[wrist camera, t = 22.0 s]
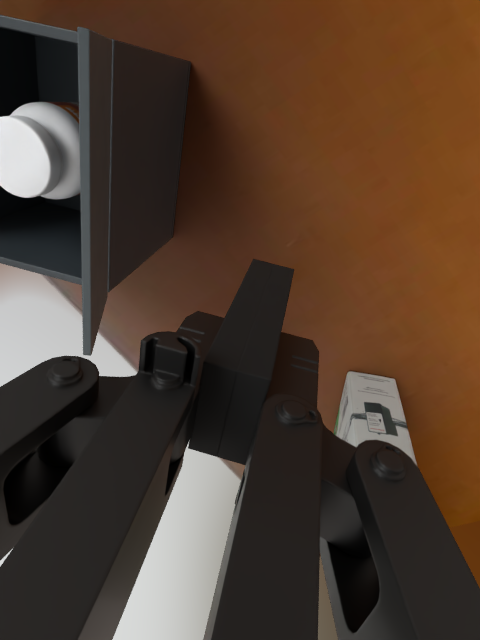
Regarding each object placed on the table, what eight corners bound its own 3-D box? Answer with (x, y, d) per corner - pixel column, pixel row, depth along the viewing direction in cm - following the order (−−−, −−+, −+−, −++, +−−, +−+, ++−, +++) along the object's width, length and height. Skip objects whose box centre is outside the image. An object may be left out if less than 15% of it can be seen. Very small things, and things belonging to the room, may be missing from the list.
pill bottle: (146, 120, 32) (69, 127, 23) (131, 192, 35) (57, 225, 26) (75, 89, 32) (-32, 83, 23) (66, 164, 35) (-32, 187, 26)
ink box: (377, 439, 44) (392, 542, 34) (332, 431, 44) (333, 529, 34) (398, 376, 39) (422, 472, 29) (347, 368, 40) (353, 459, 30)
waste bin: (32, 27, 31) (-125, -13, 20) (191, 61, 30) (114, 39, 19) (44, 204, 38) (-69, 244, 27) (172, 237, 37) (108, 292, 26)
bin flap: (77, 26, 13) (89, 29, 13) (103, 37, 19) (112, 39, 19) (83, 355, 20) (91, 355, 20) (100, 296, 26) (107, 296, 26)
